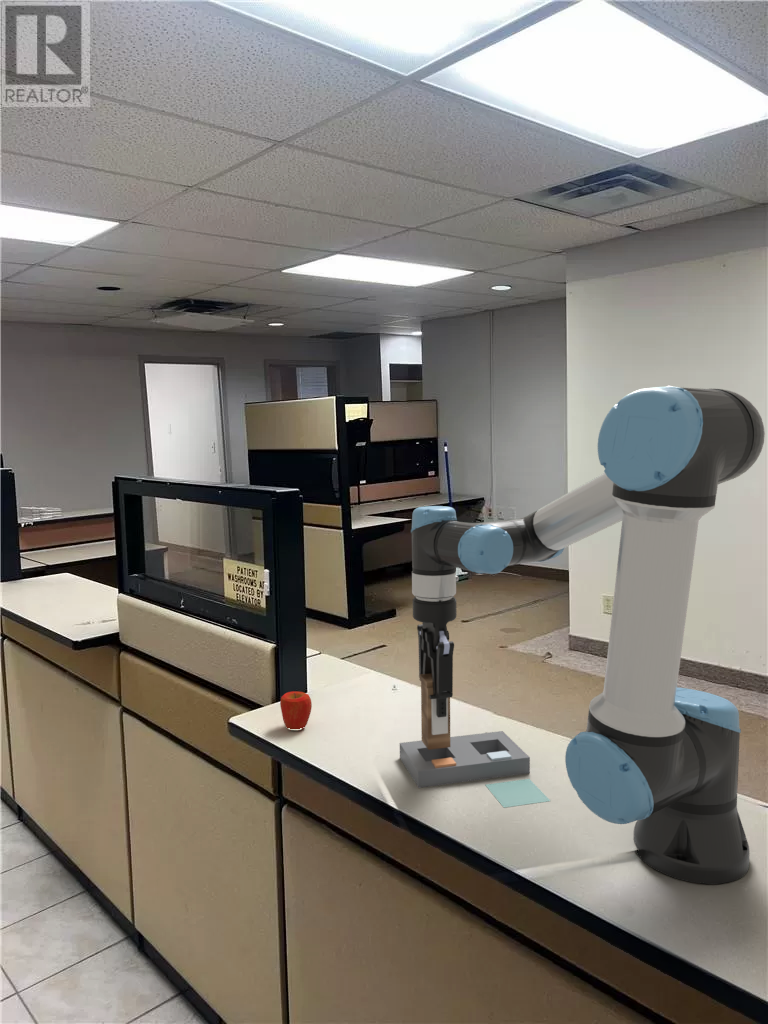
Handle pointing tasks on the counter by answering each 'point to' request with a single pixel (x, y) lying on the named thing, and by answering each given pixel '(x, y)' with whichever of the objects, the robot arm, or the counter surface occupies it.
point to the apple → (295, 709)
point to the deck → (517, 793)
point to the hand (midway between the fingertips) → (435, 727)
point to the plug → (426, 720)
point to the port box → (464, 759)
